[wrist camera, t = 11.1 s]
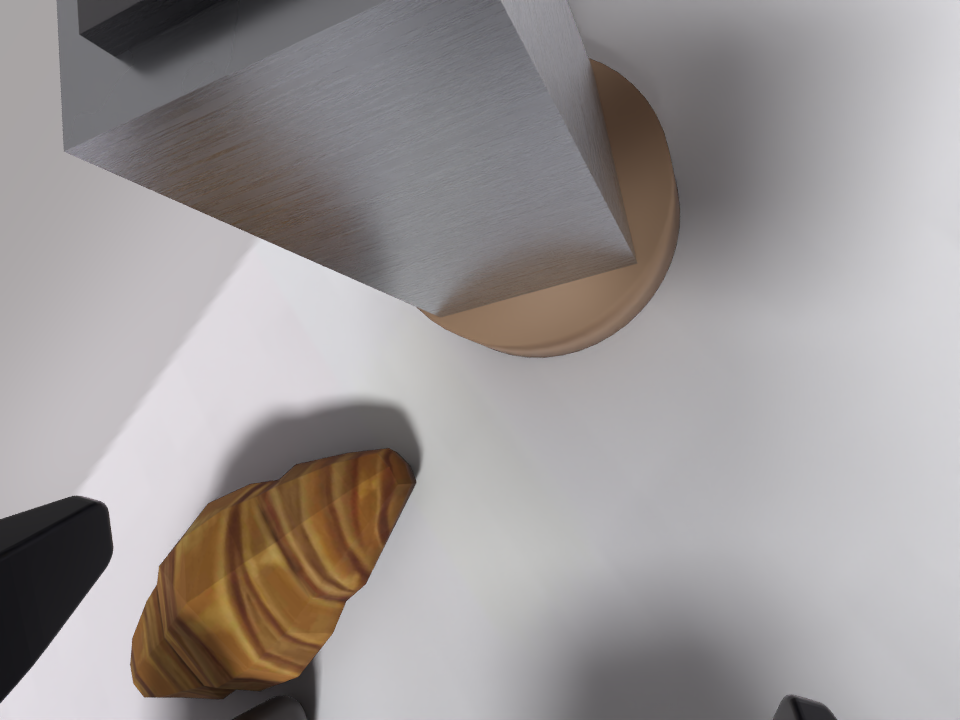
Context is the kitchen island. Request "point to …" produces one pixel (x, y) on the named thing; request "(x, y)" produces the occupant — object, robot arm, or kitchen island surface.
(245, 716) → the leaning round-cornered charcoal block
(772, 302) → the kitchen island surface
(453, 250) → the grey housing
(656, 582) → the kitchen island surface
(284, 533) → the croissant
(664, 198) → the walnut stand
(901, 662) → the kitchen island surface
